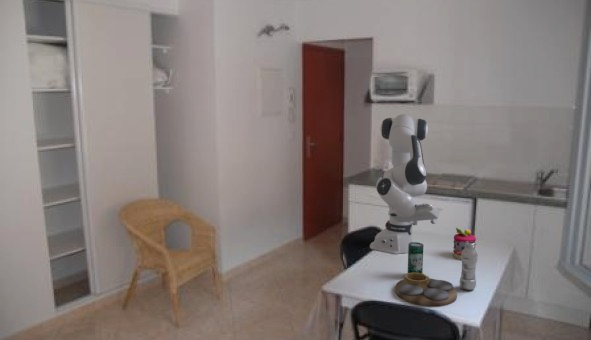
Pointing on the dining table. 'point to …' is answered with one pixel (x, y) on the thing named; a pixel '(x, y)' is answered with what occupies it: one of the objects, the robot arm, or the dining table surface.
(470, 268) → the plastic bottle
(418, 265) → the can
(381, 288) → the dining table surface
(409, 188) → the robot arm
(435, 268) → the dining table surface
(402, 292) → the wooden stone platter
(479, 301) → the dining table surface
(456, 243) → the cake
